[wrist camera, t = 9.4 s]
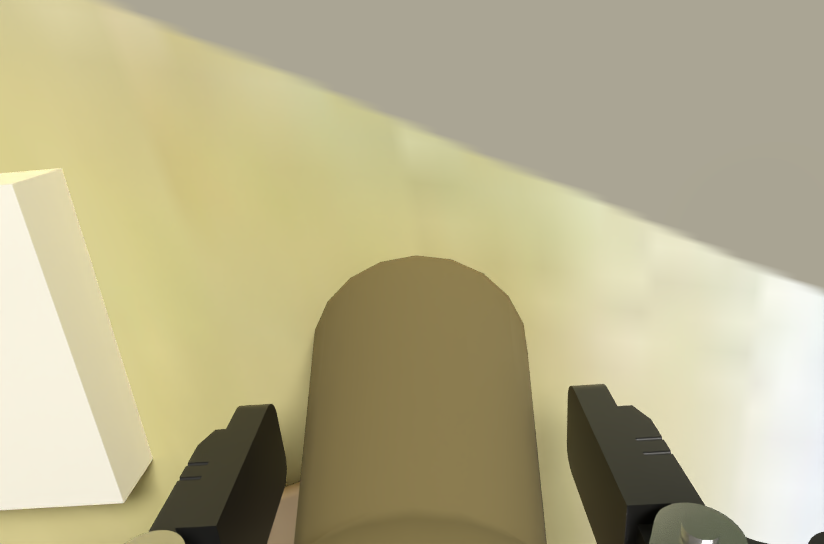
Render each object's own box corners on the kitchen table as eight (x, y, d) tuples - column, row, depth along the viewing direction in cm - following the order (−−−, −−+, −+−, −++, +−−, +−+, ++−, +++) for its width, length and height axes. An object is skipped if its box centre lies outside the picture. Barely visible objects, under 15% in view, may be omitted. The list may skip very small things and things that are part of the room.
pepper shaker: (487, 463, 17) (589, 1079, 7) (294, 417, 17) (88, 1008, 6) (559, 288, 15) (866, 802, 5) (339, 229, 14) (140, 661, 4)
